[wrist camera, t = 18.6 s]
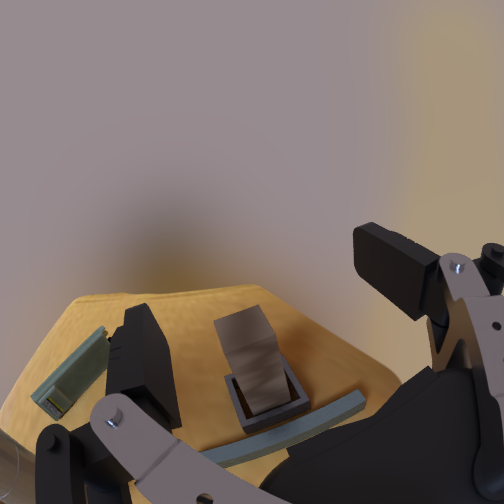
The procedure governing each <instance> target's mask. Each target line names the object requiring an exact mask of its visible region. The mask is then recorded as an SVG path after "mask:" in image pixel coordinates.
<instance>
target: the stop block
mask: <svg viewBox="0 0 504 504" xmlns="http://www.w3.org/2000/svg"><path fill="white" fill-rule="evenodd" d="M214 324H215V327H216V330H217V333H218V336H219V339H220V343H221V346H222V349H223V352H224V354H225V357H226V359H227V361H228V363H229V365H230V368H231V370H232V372H233V374H234V376H235V378H236V380H237V383H238V385H239V387H240V389H241V391H242V393H243V395H244V397H245V399H246V401H247V403H248V405H249V407H250V409H251V411H252V413H253V415H254V417H256V416H259V415H261V414H264V413H266V412H269V411H272V410H274V409H277V408H279V407H282V406H284V405H286V404H289V403H291V398H290V394H289V389H288V385H287V381H286V376H285V372H284V368H283V363H282V359H281V355H280V351H279V346H278V342H277V338H276V334H275V332H274V331H273V329H272V327H271V325H270V324H269V322H268V320H267V319H266V317H265V315H264V313H263V312H262V310H261V308H260V306H259V305H256V306H253V307H250V308H248V309H245V310H242V311H240V312H237V313H234V314H231V315H229V316H226V317H223V318H220V319H217V320H214Z"/></svg>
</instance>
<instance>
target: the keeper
mask: <svg viewBox="0 0 504 504" xmlns="http://www.w3.org/2000/svg"><path fill="white" fill-rule="evenodd" d="M281 359H282V363H283V368H284V372H285V376H286V379H287V381H288V382H289V384H290V386H291V388H292V390H293V391H294V393H295V395H296V397H297V398H298V400H296V401H293V402H291V403H289V404H286V405H284V406H282V407H279V408H277V409H274V410H272V411H269V412H266V413H264V414H261V415H259V416H256V417H253V418H250V419H247V417H246V414H245V412H244V409H243V406H242V404H241V401H240V399H239V396H238V393H237V390H236V388H238V387H239V385H238V383H237V380H236V378H235V376H234V374H233V373H232V374H230V375H227V376H224V378H225V381H226V384H227V387H228V390H229V393H230V396H231V399H232V401H233V404H234V407H235V410H236V413H237V416H238V418H239V421H240V424H241V427H242V428H243V430H244V432H245V433H246V435H247V434H250V433H253V432H256V431H259V430H262V429H264V428H267V427H270V426H272V425H275V424H277V423H280V422H282V421H285V420H287V419H290V418H292V417H294V416H297V415H299V414H301V413H303V412H306V411H308V410H310V409H311V406H310V400H309V398H308V396H307V395H306V393H305V391H304V390H303V388H302V386H301V385H300V383H299V381H298V379H297V378H296V376H295V374H294V373H293V371H292V369H291V368H290V366H289V364H288V362H287V361H286V359H285V357H284V356H283V354H282V355H281ZM365 404H366V399H365V397H364V396H363V395H362V393H361V392H360V391H359V389H356V390H355V391H353V392H351V393H349V394H347V395H346V396H344V397H342V398H340V399H338V400H336V401H334V402H332V403H330V404H328V405H326V406H324V407H322V408H320V409H318V410H316V411H314V412H312V413H310V414H307V415H305V416H303V417H301V418H298V419H296V420H294V421H291V422H289V423H287V424H284V425H282V426H279V427H277V428H274V429H272V430H269V431H266V432H264V433H261V434H258V435H255V436H252V437H250V438H247V439H244V440H241V441H237V442H234V443H231V444H228V445H224V446H221V447H217V448H214V449H210V450H206V451H203V452H199V453H200V454H202V455H203V456H205V457H206V458H208V459H209V460H211V461H212V462H214V463H215V464H217V465H219V466H220V467H222V468H227V467H230V466H234V465H237V464H240V463H244V462H247V461H250V460H253V459H256V458H259V457H262V456H265V455H267V454H270V453H273V452H276V451H278V450H281V449H283V448H286V447H288V446H291V445H293V444H296V443H298V442H300V441H303V440H305V439H307V438H309V437H312V436H314V435H316V434H318V433H320V432H322V431H324V430H326V429H328V428H330V427H332V426H334V425H336V424H338V423H340V422H342V421H344V420H346V419H347V418H349V417H351V416H353V415H355V414H356V413H358V412H360V411H362V410H363V409H364V408H365Z"/></svg>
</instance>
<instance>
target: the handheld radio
mask: <svg viewBox="0 0 504 504" xmlns="http://www.w3.org/2000/svg"><path fill="white" fill-rule="evenodd" d="M104 329H105V327H103V326H101V327H99V328H98V329H97V330H96V331H95V332H94V333H93V334H92V335H91V336H90V337H89V338H88V339H87V340H85V341H84V342H83V343H82V344H81V345H80V346H79V347H78V348H77V349H76V350H75V351H74V352H73V353H72V354H71V355H70V356H69V357H68V358H67V359H66V360H65V361H64V362H63V363H62V364H61V365H60V366H59V367H58V368H57V369H56V370H55V371H54V372H53V373H52V374H51V375H50V376H49V377H48V378H47V379H46V380H45V381H44V382H43V383H42V384H41V385H40V387H39V388H38V389H37V390H36V391H35V392H34V393H33V394H32V395H31V396H30V397H31V398H32V400H33V401H34V402H35V403H36V404H37V405H38V406H39V407H40V408H42V409H43V410H44V411H45V412H46V413H47V414H48V415H49V416H51V417H52V418H53V419H54V420H55V421H58V420H59V419H60V418H61V417H62V415H63V414H64V413H65V412H66V411H67V410H68V409H69V408H70V407H71V406H72V405H73V404H74V402H75V401H76V400H77V399H78V398H79V397H80V396H81V395H82V394H83V393H84V392H85V391H86V390H87V389H88V387H89V386H90V385H91V384H92V383H93V382H94V381H95V380H96V379H97V378H98V377H99V376H100V375H101V374H102V373H103V372H104V371H105V370H106V368H107V367H108V362H109V360H108V358H109V353H110V342H111V338H112V337H109V338H108V339H107V338H106V335H107V334H108V332H107V331H106V330H105V331H104ZM103 331H104V332H103Z"/></svg>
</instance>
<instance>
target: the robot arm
mask: <svg viewBox="0 0 504 504" xmlns="http://www.w3.org/2000/svg"><path fill="white" fill-rule="evenodd" d="M353 248H354V266H355V269H356V271H357V273H358V275H359V276H360V277H361V278H362V279H364V280H365V281H366V282H368V283H369V284H370V285H371V286H372V287H374V288H375V289H377V291H379V292H380V293H381V294H382V295H384V296H385V297H386V298H387V299H389V300H390V301H391V302H392V303H394V304H395V305H396V306H397V307H398V308H399V309H401V310H402V311H403V312H404V313H406V314H407V315H408V316H409V317H410V318H411V319H413V320H414V321H417V320H418V319H419V318H421V317H422V316H424V315H425V314H426V315H427V316H428V318H427V329H428V334H429V341H430V348H431V354H432V369H431V368H430V367H429V366H427V367H426V368H424V369H423V370H422V371H420V372H419V373H418V374H416V375H415V376H414V377H412V378H411V379H409V380H408V381H407V382H405V383H404V384H403V385H401V386H400V387H399V388H398V389H397V391H396V392H395V393H394V394H393V395H392V396H391V397H390V398H389V400H388V401H387V402H386V403H385V404H384V405H383V406H382V407H381V408H380V409H379V410H378V411H377V412H376V413H375V414H374V415H373V416H371V417H368V418H365V419H362V420H359V421H356V422H353V423H349V424H346V425H342V426H339V427H335V428H331V429H328V430H326V431H324V432H321V433H319V434H317V435H315V436H313V437H311V438H309V439H307V440H304V441H302V442H300V443H298V444H295V445H293V446H290V447H288V448H286V449H287V452H288V454H289V457H288V458H287V459H286V460H284V461H283V462H281V463H280V464H279V465H278V466H277V467H275V468H274V469H273V470H272V471H271V472H270V473H269V474H268V476H267V477H266V478H265V479H264V481H263V482H262V483H261V485H260V486H259V488H257V487H255V486H253V485H252V484H250V483H248V482H246V481H244V480H242V479H240V478H239V477H237V476H235V475H233V474H232V473H230V472H228V471H227V470H225V469H223V468H222V467H220V466H219V465H217V464H215V463H214V462H212V461H211V460H209V459H208V458H206V457H205V456H203V455H202V454H200V453H199V452H197V451H196V450H194V449H193V448H191V447H190V446H189V445H187V444H186V443H184V442H183V441H181V440H180V439H177V438H176V437H174V436H173V435H172V429H175V428H179V427H182V424H181V418H180V413H179V408H178V402H177V396H176V390H175V384H174V378H173V371H172V364H171V356H170V350H169V346H168V343H167V340H166V338H165V336H164V334H163V332H162V330H161V328H160V327H159V325H158V323H157V321H156V319H155V318H154V316H153V314H152V312H151V310H150V308H149V306H148V305H147V304H146V303H143V304H140V305H137V306H134V307H131V308H128V309H126V310H125V316H124V325H123V326H120V327H117V329H116V331H115V332H114V334H113V336H112V338H111V342H110V353H109V358H108V360H109V362H108V368H107V380H106V394H105V397H104V398H102V399H101V400H99V401H98V402H97V403H96V405H95V406H94V408H93V410H92V412H91V416H90V422H88V423H86V424H85V425H83V426H81V427H79V428H77V429H75V430H73V431H71V432H70V431H68V430H67V429H66V428H65V427H63V426H62V425H60V424H51V425H49V426H47V427H46V428H44V429H43V430H42V432H41V433H40V435H39V437H38V439H37V443H36V455H35V454H33V453H32V452H30V451H29V450H27V449H26V448H25V447H23V446H22V445H21V444H19V443H18V442H17V441H15V440H14V439H13V438H12V437H10V436H9V435H8V434H6V433H5V432H4V431H3V430H2V429H0V501H1V502H3V503H5V504H132V500H131V495H130V491H129V486H128V482H129V481H132V480H134V479H135V480H136V482H135V486H136V488H137V489H138V490H139V491H140V493H141V494H142V495H143V496H144V497H146V498H147V499H148V500H149V501H150V502H151V503H152V504H504V296H503V295H501V293H502V290H503V287H504V246H502V245H499V244H495V243H487V244H485V245H484V246H483V248H482V253H481V257H480V258H478V259H474V260H471V259H470V258H468V257H467V256H465V255H462V254H458V253H448V254H445V255H443V256H442V257H441V256H439V255H437V254H435V253H434V252H432V251H430V250H428V249H427V248H425V247H423V246H421V245H419V244H418V243H415V242H414V241H412V240H410V239H407V237H405V236H403V235H401V234H399V233H397V232H393V231H389V230H387V229H385V228H383V227H381V226H379V225H377V224H375V223H373V222H369V223H367V224H364V225H362V226H359V227H357V228H355V229H354V231H353Z"/></svg>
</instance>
